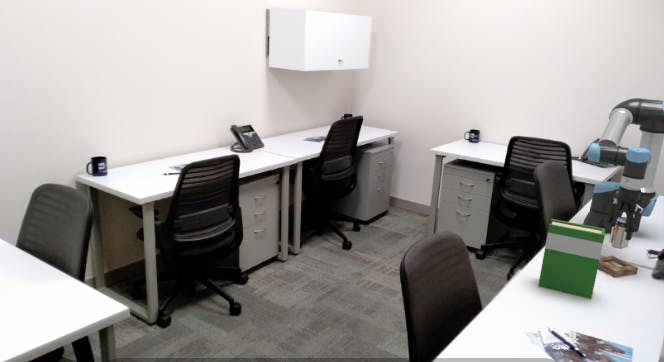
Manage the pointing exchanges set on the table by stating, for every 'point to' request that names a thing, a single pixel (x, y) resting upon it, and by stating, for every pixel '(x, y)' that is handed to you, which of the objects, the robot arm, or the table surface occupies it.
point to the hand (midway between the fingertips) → (618, 244)
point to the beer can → (619, 232)
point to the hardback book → (571, 258)
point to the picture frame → (616, 267)
